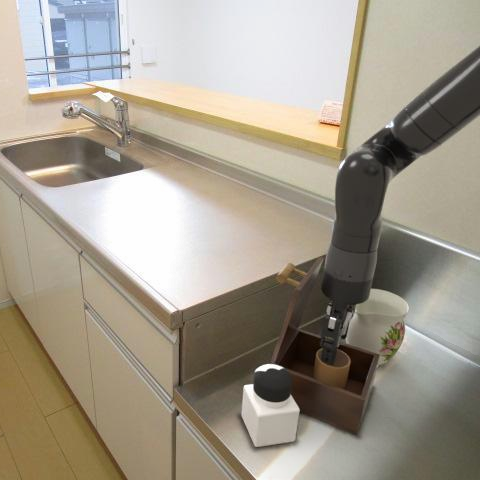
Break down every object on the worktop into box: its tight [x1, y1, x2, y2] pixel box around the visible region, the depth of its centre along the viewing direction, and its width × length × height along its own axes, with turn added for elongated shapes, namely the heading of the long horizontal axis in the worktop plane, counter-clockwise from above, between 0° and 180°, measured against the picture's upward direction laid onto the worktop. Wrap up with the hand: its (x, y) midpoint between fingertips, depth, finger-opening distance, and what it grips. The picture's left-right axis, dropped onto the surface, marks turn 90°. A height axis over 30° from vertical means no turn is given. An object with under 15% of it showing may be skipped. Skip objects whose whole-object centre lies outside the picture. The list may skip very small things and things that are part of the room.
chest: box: [274, 327, 380, 436], centre depth 83 cm, size 16×14×8 cm
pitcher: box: [345, 288, 410, 366], centre depth 92 cm, size 11×18×14 cm, turn 122°
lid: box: [269, 256, 324, 364], centre depth 82 cm, size 16×14×5 cm
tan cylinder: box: [313, 348, 351, 390], centre depth 82 cm, size 6×6×8 cm
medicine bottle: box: [241, 363, 301, 448], centre depth 75 cm, size 7×7×12 cm
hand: (333, 349), depth 80 cm, fingers open, 8 cm apart
